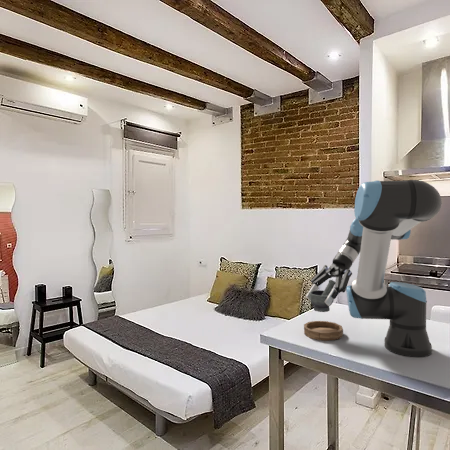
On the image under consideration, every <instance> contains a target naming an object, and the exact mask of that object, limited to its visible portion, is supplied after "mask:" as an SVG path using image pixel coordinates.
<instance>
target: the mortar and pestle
mask: <svg viewBox="0 0 450 450" xmlns="http://www.w3.org/2000/svg"><path fill="white" fill-rule="evenodd" d="M335 283H336V281H334V280H332V279H328V283H327V285H326V286H325V288H324V290H322V289H321V290H317V291H311V292H309V291H308V292H309V298H310V300H309V301H310V303H311V304H312V306H313V310H314V311H315V312H318V313H326V312H330V306H331V305H332V304H333V303H334V301H335V299H334V300H333V301H332V303H331V304H330V306H328V305H327V304H326V303H325V302H324V301H325V300H326V298H327V297H328V295H329V294H330V292H331V291H332V289H334V287H335Z"/></svg>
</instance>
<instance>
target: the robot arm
mask: <svg viewBox="0 0 450 450" xmlns="http://www.w3.org/2000/svg"><path fill="white" fill-rule="evenodd" d="M442 204H443V203H442V197H441V194H440V192H439V191H438V189H436V188H435V186H433V185H432V184H430V183H429V182H426V181H422V180H417V179H409V180H408V179H407V180H374V181H365V182H362V183H361V184H360V185H359V187H358V189H357V191H356V195H355V200H354V216H355V218H354V219H353V220H352V222H351V224H350V226H349V232H348V234H347V237H346V239H345V241H344V243H343V244H342V246H341V247H340V249H339V250H338V251H337V253H336V255H335V256H334V257H333V259H332V264H331V265H329V266H328V265H326V264H324V265H323V267H322V268H321V269H320V271H319V272H318V273H316V275H315V276H314V277H312V279H311V280H310V282H311V283H312V284H311V287H310V288H309V290H308V291H307V293H306V295H305V297H306V298H307V299H308V300H309V301H310V298H309V292H311V291H317V290H318V289H319V287H320V286H321V285H322V284H323V283H325V282H327V281H329V280H330V279H332V278H335V282H336V283H335V285H334V287H333V289H332V291H331V292H330V294H329V295H328V297H327V298H326V300H325V301H324V302H325V303H326V304H327V305H328V306H329V307H330V306H331V305H332V304H333V303H332V301H333V300H334V301H335V299H336V298H337V297H338V295H339V294H341V293H345V292H346V298H347V306H348V312H349V316H350V317H352V318H353V319H359V320H389V326H388V328H387V332H386V336H385V337H384V343H383V344H384V347H385V348H386V349H387V350H388V351H390V352H392V353H393V354H394V353H395V354H397V355H402V356H406V357H413V358H419V357H422V358H423V357H428V356H430V355H431V354H432V351H433V346H432V343H431V341H430V338H429V337H430V336H429V334H428V331H427V302H428V301H427V293H426V290H425V289H424V288H423V287H421V286H419V285H417V284H416V285H415V284H410V283H406V282H401V281H400V282H399V281H391V282H390V283H389V285H388V286H387V285H386V284H385V282H384V281H385V275H386V270H387V262H388V259H389V251H390V246H391V241H393V240H396V241H402V240H408V239H409V238H410V236H411V234H412V233H411V232H412V231H411V230H412V229H413V228H414V227H416V226H418V225H419V224H420V223H421V222H422V223H423V222H427V221H430V220H432V219H433V218H434V217H435V216H437V215H438V214H439V212H440V210H441V208H442ZM358 256H359V259H358V260H359V261H358V269H357V277H356V278H354V279H353V281H352V282H351V285H348V284H349V282H350V278H351V277H352V276H353V272H352V271H351V267H353V266H352V265H353V263H354V262H355V261H356V259H357V257H358ZM334 301H333V302H334ZM331 303H332V304H331ZM330 304H331V305H330Z"/></svg>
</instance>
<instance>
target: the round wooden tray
mask: <svg viewBox="0 0 450 450" xmlns="http://www.w3.org/2000/svg"><path fill="white" fill-rule="evenodd" d="M303 330H304V331H303V332H304V335H305V336H306V337H308V338H309V339H313V340H316V341H323V342H325V341H327V342H328V341H329V342H330V341H337V340H340V339H342V337H343V334H344V328H343V326H342V325H341V324H339V323H336V322H332V321H327V320H314V321H313V320H312V321H308V322H306V323H304V324H303Z"/></svg>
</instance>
